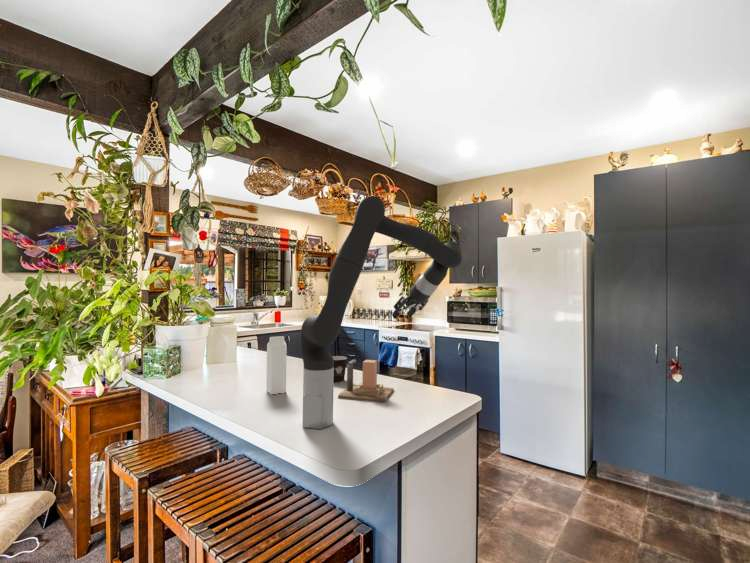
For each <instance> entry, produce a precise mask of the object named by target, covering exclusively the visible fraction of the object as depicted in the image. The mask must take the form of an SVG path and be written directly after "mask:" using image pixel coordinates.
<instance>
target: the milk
mask: <svg viewBox="0 0 750 563" xmlns="http://www.w3.org/2000/svg"><path fill="white" fill-rule="evenodd" d="M287 348H288V345H287V343H286V340H285V336H284V335H281V336H269V341H268V342H267V344H266V382H265V383H266V384H265V386H266V388H265V390H266V391H267V392H266V393H268V392H269V393H270V394H269V393H268V394H269V395H270V396H273V395H272V394H276V395H279V394H278V393H282V394H286V393H287V357H288V356H287V353H288V350H287ZM285 392H286V393H285Z"/></svg>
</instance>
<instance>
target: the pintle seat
mask: <svg viewBox="0 0 750 563" xmlns="http://www.w3.org/2000/svg"><path fill="white" fill-rule="evenodd" d="M356 363H357V359H352V360H350V361H348V363H347V364H346V388H345V389H344V390H343V391H342V392H340V393H339V394H338V395H337V398H338V399H345V400H346V399H347V400H355V401H357V400H358V401H368V402H378V403H385V402H386V401H387V400H388V398H389V397H390V396H391V394H392V393H393V392H394V387H387V386H384V384H381V383H380V384H379V383H377V389H376V390H372V389H362V385H363V382H361V383H360V384H354V364H356Z"/></svg>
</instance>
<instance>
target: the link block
mask: <svg viewBox="0 0 750 563" xmlns="http://www.w3.org/2000/svg"><path fill="white" fill-rule="evenodd" d="M377 372H378V360H375V359H364V361H362V383H363V385H362V389H372V390H376V389H377V384H378V382H377V381H378V379H377V376H378V373H377Z"/></svg>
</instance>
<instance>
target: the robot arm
mask: <svg viewBox="0 0 750 563" xmlns="http://www.w3.org/2000/svg"><path fill="white" fill-rule="evenodd" d="M385 214H386V207H385V204H384V202H383V200H382V199H381V198H380V197H378V196H375V195H369V196H366V197H364V198H363V199H362V200H361V201H359V204H358V205H357V207H356V209H355V213H354V220H353V225H352V227H351V230H350V231H349V232H348V234H347V236H346V238H345V240H344V242H343V244H342V245H341V247H340V248H339V251H338V253H337V254H336V256H335V259H334V260H333V262H332V266H331V268H330V271H329V275H328V283H327V295H326V298H325V301H324V303H323V306H322V308H321V310H320V312H319V314H312V315H309V316H308V317H306V318H305V319H304V321H303V323H302V325H301V328H300V330H301V331H300V349H301V350H300V351H301V353H300V355H301V359H302V363H303V381H302V382H303V383H302V386H303V387H302V389H303V392H302V394H303V396H302V428H307V429H317V430H322V429H323V428H324V429H325V428H328V427H330V426H332V425H333V424H334V382H333V381H334V359H333V357H332V356H333V355H332V354H331V352H330V349H329V348H330V347H329V346H331V345H332V344H334V342H335V341H336V340H337V338H338V335H339V333H340V330H341V328H342V323H343V320H344V316H345V312H346V309H347V307H348V304H349V302H350V299H351V297H352V294H353V292H354V289H355V287H356V284H357V282H358V280H359V278H360V275H361V273H362V270H363V267H364V265H365V262H366V259H367V257H368V253H369V249H370V246H371V244H372V243H371V242H372V240H373V238H374V235H375V233H376V234H377V233H378V234H380V235H384V236H387V237H389V238H392V239H394V240H397V241H399V242H401V243H403V244H406V245H408V246H409V247H412V248H414V249H415V250H418V251H419V252H422V253H424V254H426V255H428V256H429V257H430V258H432V262H431V264H429V266H427V268H426V270H425V271H424V272H423V273H422V274H421V275H420V276H419V277H418V278H417V280H416V282H414V284H413V285H412V286H411V288H409V295H408V296H407V297H405V296H403V295H402V296H400V298H399V299H398V300H397V301H396V302H395V304H393V308H394V311H393V312H392V314H391V316H392V318H393V319H394V320H395V319H396V320H397V319H398V317H399V316H400V315H401V313H402V312H404V311H407V310H409V311H408V312H407V314H406V315H407V316H408V318H412V317H413V316H414V315H415V314H416V312H418V311H423V309H424V307H425V306H426V305H427V304H428V303H429V299H430V298H431V296H433V294H434V293H435V292H436V290H437V289H438V287H439V286H440V284H441V283H442V282H443V281H444V279H445V278H446V276H447V275H448V270H449V269H455V268H457V267H459V266H460V264H461V263H462V261H463V260H462V259H463V258H462V249H461V246H460V245H459V243H458V242H456V241H447V242H445V243H443V242H441V240H440V239H439V237H438V236H437V235H436V234H433V233H432V232H430V231H428V230H426V229H424V228H421V227H419V226H416V225H413V224H412V225H411V224H408V223H403V222H400V221H397V220H394V219H393V218H390V217H389V216H386V215H385Z"/></svg>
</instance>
